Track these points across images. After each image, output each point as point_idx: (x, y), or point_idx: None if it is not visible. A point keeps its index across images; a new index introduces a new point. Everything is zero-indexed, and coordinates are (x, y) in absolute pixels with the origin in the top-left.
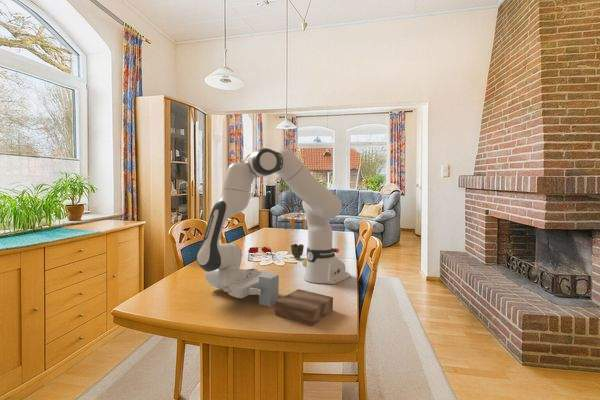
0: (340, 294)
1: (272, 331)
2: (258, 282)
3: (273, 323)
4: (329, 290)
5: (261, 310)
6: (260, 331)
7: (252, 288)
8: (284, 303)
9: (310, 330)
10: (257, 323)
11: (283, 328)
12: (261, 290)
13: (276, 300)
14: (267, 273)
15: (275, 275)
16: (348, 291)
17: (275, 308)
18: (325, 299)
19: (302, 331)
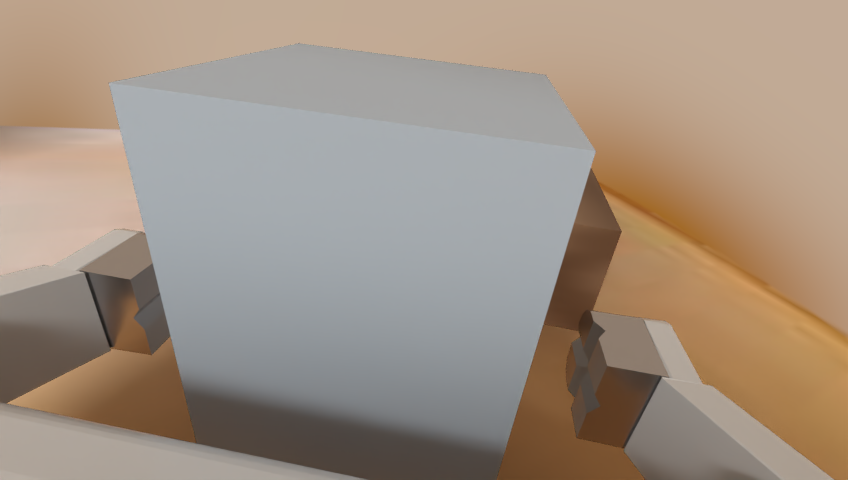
0: (111, 150)
1: (756, 287)
2: (341, 475)
3: (688, 306)
4: (5, 176)
5: (603, 465)
6: (835, 332)
7: (786, 466)
8: (599, 191)
9: None
10: (805, 386)
11: (677, 260)
12: (626, 317)
13: (598, 228)
14: (184, 83)
15: (331, 52)
16: (61, 135)
17: (599, 284)
18: None
19: (624, 212)
